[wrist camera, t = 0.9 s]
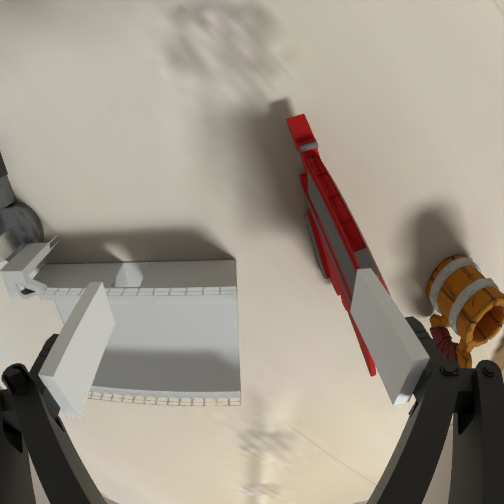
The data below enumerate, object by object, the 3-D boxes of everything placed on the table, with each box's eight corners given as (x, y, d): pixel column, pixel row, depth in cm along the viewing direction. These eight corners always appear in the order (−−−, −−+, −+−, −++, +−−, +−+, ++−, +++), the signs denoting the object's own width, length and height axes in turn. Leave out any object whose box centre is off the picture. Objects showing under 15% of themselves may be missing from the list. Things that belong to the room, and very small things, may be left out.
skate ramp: (84, 364, 53) (67, 406, 43) (37, 234, 40) (-1, 271, 31) (239, 368, 54) (242, 418, 45) (234, 225, 42) (236, 267, 32)
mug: (481, 257, 47) (531, 303, 34) (442, 329, 54) (478, 381, 41) (443, 245, 45) (498, 297, 32) (402, 325, 52) (438, 386, 39)
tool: (264, 126, 34) (347, 335, 19) (308, 109, 33) (423, 304, 18) (310, 244, 53) (360, 389, 38) (340, 233, 52) (397, 374, 37)
